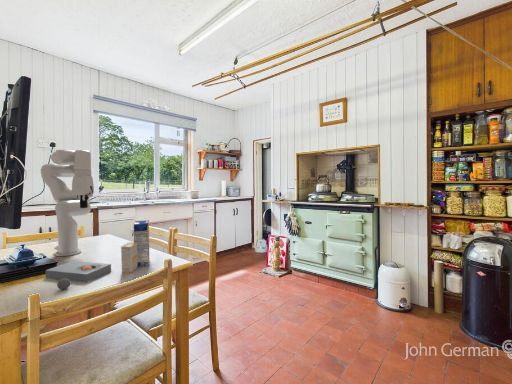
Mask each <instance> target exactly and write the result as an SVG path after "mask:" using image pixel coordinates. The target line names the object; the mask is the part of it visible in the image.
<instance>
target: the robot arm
mask: <svg viewBox="0 0 512 384" xmlns="http://www.w3.org/2000/svg"><path fill="white" fill-rule="evenodd" d="M50 155H51V156H50V159H51V161H52V162H53V163H45V164H43V165H42V166H41V168H40V175H41V178H42V180H43V182H44V184H45V185H46V186H47V187H48V188H49V190H50V193H51V196H52V198H53V200H54V201H55V206H54V211H55V215H56V222H57V244H58V245H56V246H55V247H53V248H54V250H56V252H55V253H54V255H55V256H56V257H69V256H74V255H75V256H76V255H77V254H80V253H81V252H82V249H80V248H79V238H78V237H79V236H78V235H79V234H78V223H77V221H76V219H74V217H76V216H78V217H79V216H86V215H88V214H89V213H91V209H92V207H91V204H90V201H89V199H90V198H93V194H94V193H95V186H94V185H95V184H94V179H93V176H92V153H91V151H89V150H87V149H86V150H85V149H76V150H71V149H56V150H55V151H54V152H52V153H51V154H50ZM61 178H72V181H71V187H68V186H67V184H66V182H65V181H63V180H62V179H61Z"/></svg>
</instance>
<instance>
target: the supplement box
mask: <svg viewBox="0 0 512 384" xmlns="http://www.w3.org/2000/svg"><path fill="white" fill-rule="evenodd" d="M120 248H121V249H120V250H121V251H120V254H121V257H120V258H121V274H132V273H134V272H135V270H137V269H138V268H139V267H138V263H137V242H134V241H132V242H131V241H129V242H126V243H125V244H123V245H121V246H120Z"/></svg>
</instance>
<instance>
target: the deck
mask: <svg viewBox="0 0 512 384" xmlns="http://www.w3.org/2000/svg"><path fill="white" fill-rule="evenodd" d="M85 266H91V267H92V269H90V270H82V268H83V267H85ZM110 272H112V264H111V263H104V262H102V263H101V262H89V261H79V260H70V261H68V262H66V263H63V264H61V265H57V266H54V267H51V268H48V269H45V279H52V280H53V279H54V280H61V279H63V278H67V279H69V280H70V282H82V283H88V282H89V283H90V282H91V281H93V280H95V279H98V278H100V277H102V276H104V275H106V274H108V273H110Z"/></svg>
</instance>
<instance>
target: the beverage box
mask: <svg viewBox="0 0 512 384" xmlns="http://www.w3.org/2000/svg"><path fill="white" fill-rule="evenodd" d="M133 242H137V263H138V267H137V268H140V267H139V266H143V267H149V266H150V220H135V221H134V223H133Z"/></svg>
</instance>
